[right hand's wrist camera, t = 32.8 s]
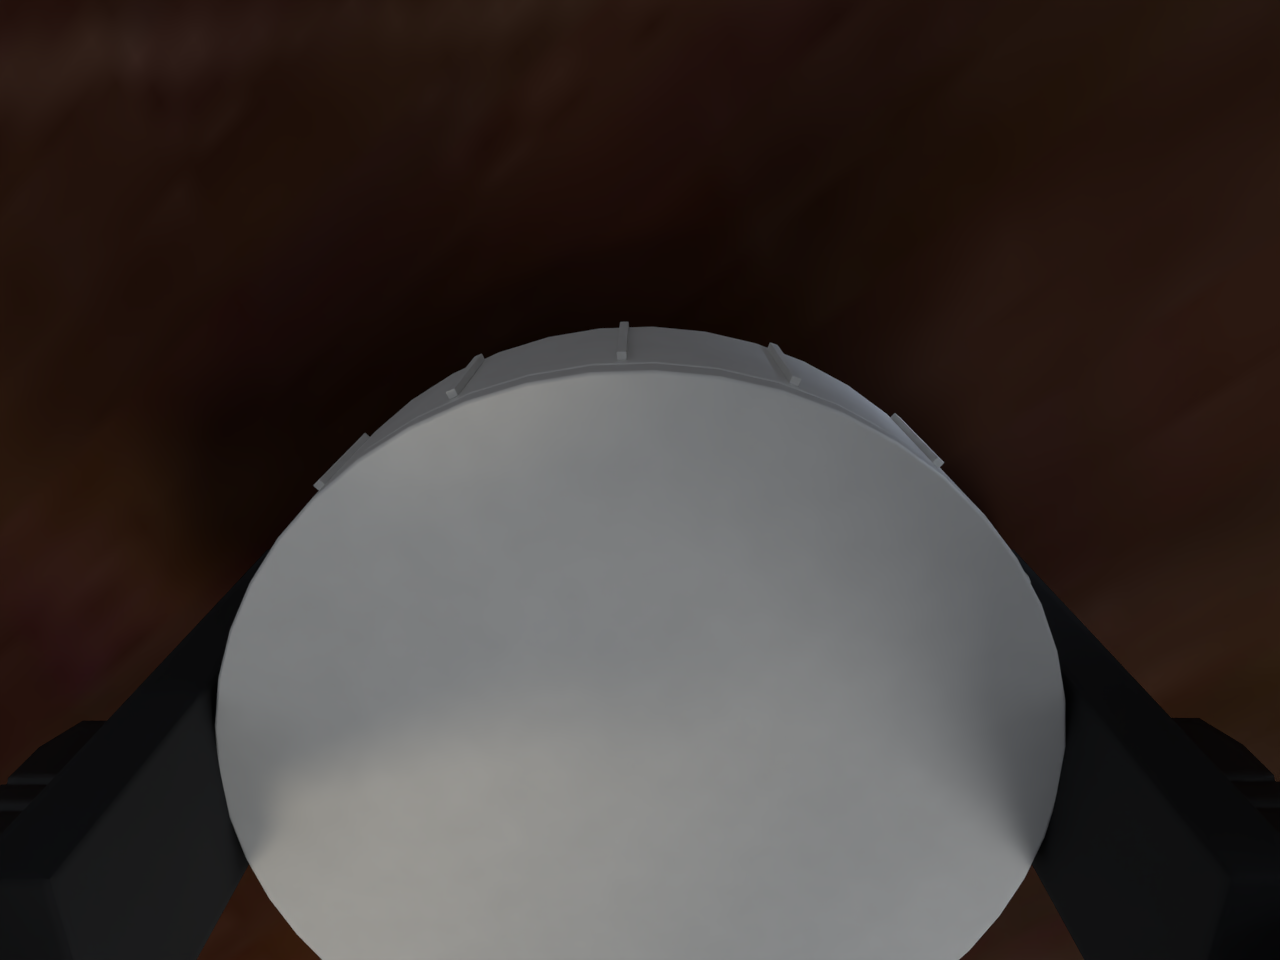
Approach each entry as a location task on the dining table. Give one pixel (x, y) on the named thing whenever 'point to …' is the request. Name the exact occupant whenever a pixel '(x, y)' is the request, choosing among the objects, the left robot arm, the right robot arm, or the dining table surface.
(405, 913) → the lid
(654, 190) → the dining table surface
